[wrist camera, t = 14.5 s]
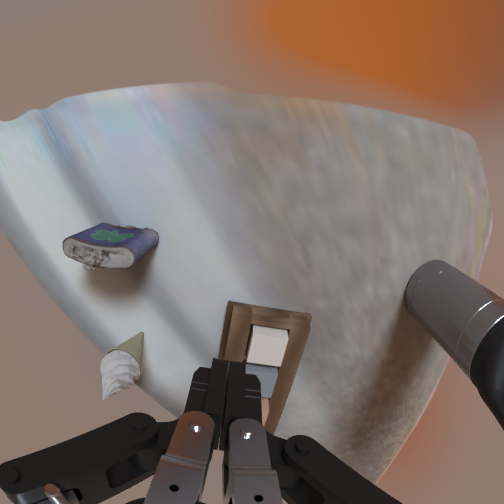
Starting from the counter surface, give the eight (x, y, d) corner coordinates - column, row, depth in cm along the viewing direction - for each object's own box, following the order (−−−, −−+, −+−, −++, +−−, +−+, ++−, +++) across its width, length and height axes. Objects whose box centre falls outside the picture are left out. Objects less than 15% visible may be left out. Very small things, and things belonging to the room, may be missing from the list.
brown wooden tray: (310, 314, 40) (315, 328, 37) (273, 426, 47) (274, 443, 43) (228, 300, 40) (226, 315, 36) (209, 417, 46) (206, 434, 42)
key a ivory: (286, 326, 38) (288, 338, 35) (278, 353, 39) (280, 366, 36) (253, 321, 38) (253, 333, 35) (247, 348, 39) (246, 361, 36)
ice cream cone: (162, 327, 41) (127, 397, 27) (153, 352, 42) (120, 423, 28) (130, 311, 41) (84, 375, 26) (122, 338, 42) (80, 403, 27)
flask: (160, 229, 37) (128, 253, 27) (158, 251, 38) (127, 283, 28) (96, 220, 37) (51, 240, 27) (96, 241, 38) (52, 267, 28)
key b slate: (276, 360, 40) (278, 374, 37) (269, 383, 41) (270, 397, 38) (245, 356, 39) (244, 370, 36) (240, 379, 40) (239, 393, 38)
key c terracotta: (268, 397, 40) (269, 411, 37) (262, 416, 41) (262, 431, 38) (238, 393, 39) (237, 407, 37) (233, 412, 41) (232, 427, 38)
